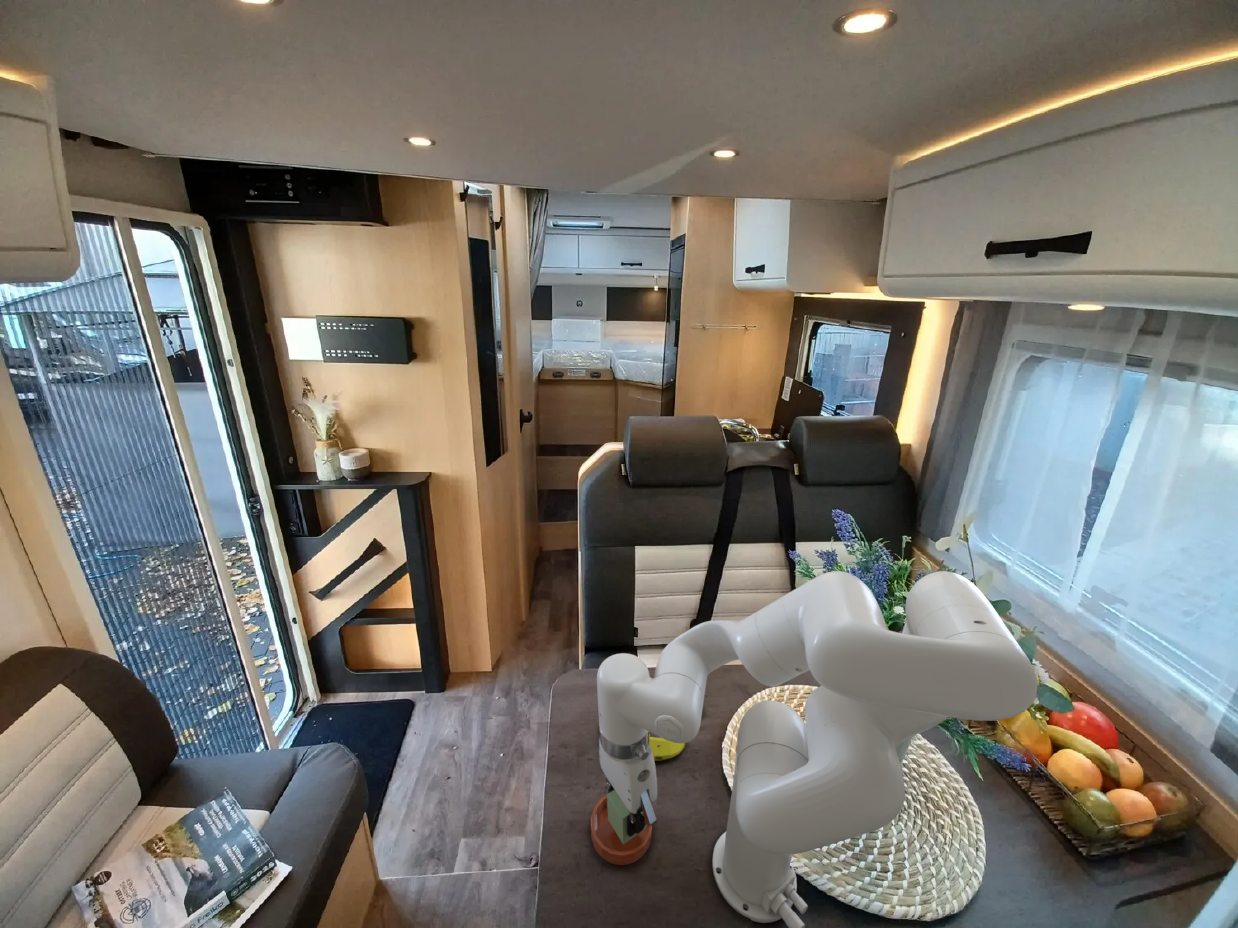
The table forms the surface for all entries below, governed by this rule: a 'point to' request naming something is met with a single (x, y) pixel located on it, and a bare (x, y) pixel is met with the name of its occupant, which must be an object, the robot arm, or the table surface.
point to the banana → (664, 748)
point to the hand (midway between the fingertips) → (626, 814)
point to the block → (618, 816)
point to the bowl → (616, 838)
